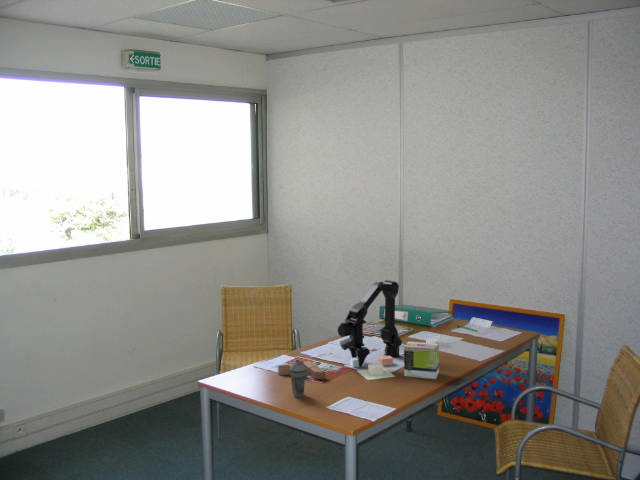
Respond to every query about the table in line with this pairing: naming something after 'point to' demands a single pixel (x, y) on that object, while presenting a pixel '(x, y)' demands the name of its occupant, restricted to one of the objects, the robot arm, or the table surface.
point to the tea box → (421, 360)
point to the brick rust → (386, 360)
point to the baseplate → (370, 377)
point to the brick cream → (375, 369)
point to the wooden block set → (310, 369)
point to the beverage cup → (298, 377)
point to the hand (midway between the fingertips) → (357, 363)
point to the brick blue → (355, 362)
